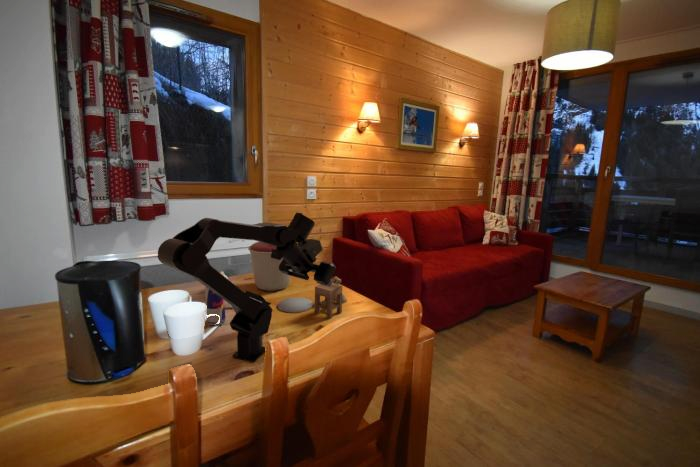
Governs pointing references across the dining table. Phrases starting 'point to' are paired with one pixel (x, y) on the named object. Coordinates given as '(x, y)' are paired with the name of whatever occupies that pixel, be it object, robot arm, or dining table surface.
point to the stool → (328, 298)
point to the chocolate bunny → (344, 299)
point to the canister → (267, 268)
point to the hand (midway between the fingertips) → (319, 281)
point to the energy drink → (214, 307)
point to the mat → (295, 305)
